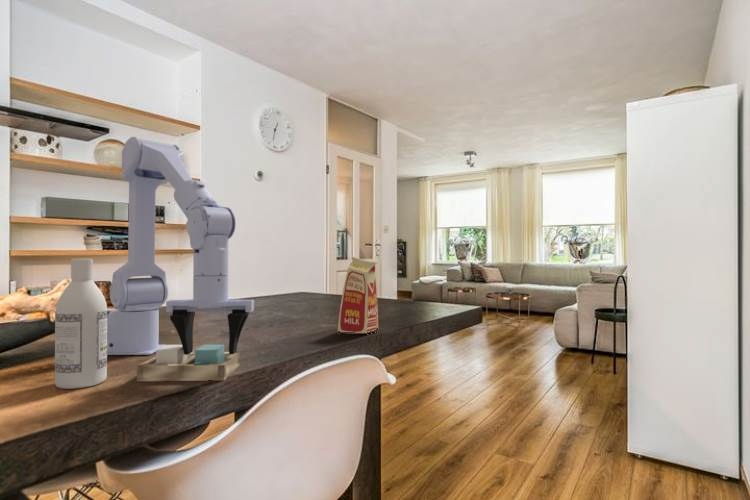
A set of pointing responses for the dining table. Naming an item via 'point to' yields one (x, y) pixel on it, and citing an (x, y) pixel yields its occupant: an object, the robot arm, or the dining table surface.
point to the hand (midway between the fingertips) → (210, 353)
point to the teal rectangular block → (210, 354)
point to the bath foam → (81, 330)
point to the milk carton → (359, 298)
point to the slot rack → (188, 369)
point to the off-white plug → (171, 354)
